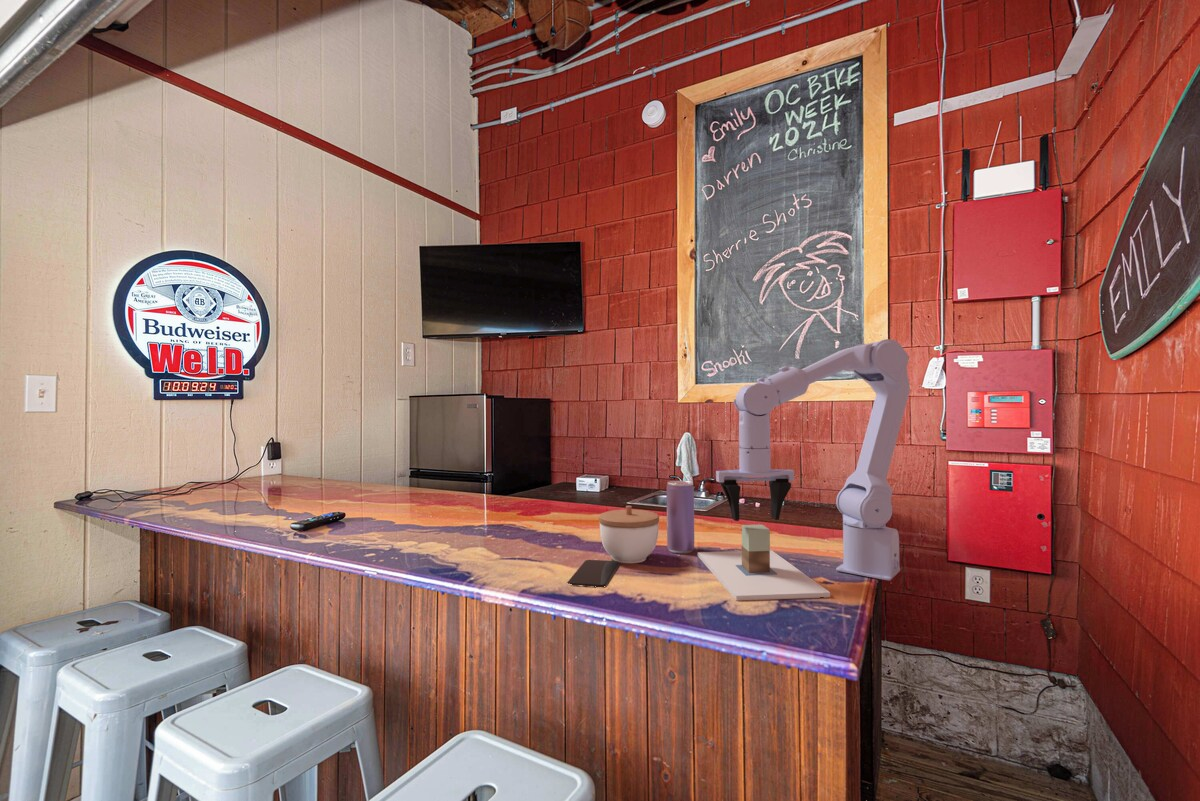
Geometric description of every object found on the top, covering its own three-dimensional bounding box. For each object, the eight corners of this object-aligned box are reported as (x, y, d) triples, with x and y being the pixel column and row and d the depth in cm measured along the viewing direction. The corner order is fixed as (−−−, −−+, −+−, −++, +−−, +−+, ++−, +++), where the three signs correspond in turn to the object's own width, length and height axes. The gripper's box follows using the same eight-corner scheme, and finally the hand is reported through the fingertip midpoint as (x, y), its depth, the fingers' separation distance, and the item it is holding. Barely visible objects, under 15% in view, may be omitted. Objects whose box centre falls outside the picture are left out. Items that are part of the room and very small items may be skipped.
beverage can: (694, 554, 117) (693, 484, 117) (666, 553, 118) (665, 484, 118) (694, 547, 123) (694, 480, 123) (668, 546, 124) (667, 480, 124)
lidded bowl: (657, 569, 108) (657, 512, 108) (594, 566, 110) (594, 511, 110) (661, 551, 120) (660, 501, 120) (604, 549, 122) (603, 500, 122)
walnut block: (762, 565, 106) (761, 544, 106) (769, 572, 102) (769, 550, 102) (741, 566, 106) (741, 545, 106) (748, 572, 102) (748, 551, 102)
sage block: (762, 545, 106) (761, 524, 106) (769, 550, 102) (769, 529, 102) (741, 545, 106) (741, 525, 106) (748, 551, 102) (748, 529, 102)
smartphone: (605, 590, 97) (620, 565, 112) (605, 585, 97) (620, 560, 112) (565, 588, 99) (585, 563, 113) (565, 583, 99) (585, 559, 113)
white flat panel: (771, 553, 117) (771, 549, 117) (830, 597, 91) (830, 591, 91) (697, 555, 116) (697, 551, 116) (736, 600, 90) (736, 595, 90)
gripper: (783, 445, 108) (784, 513, 108) (711, 446, 107) (712, 515, 107) (798, 448, 101) (799, 521, 101) (721, 449, 100) (722, 523, 100)
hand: (755, 519), depth 104 cm, fingers open, 7 cm apart
